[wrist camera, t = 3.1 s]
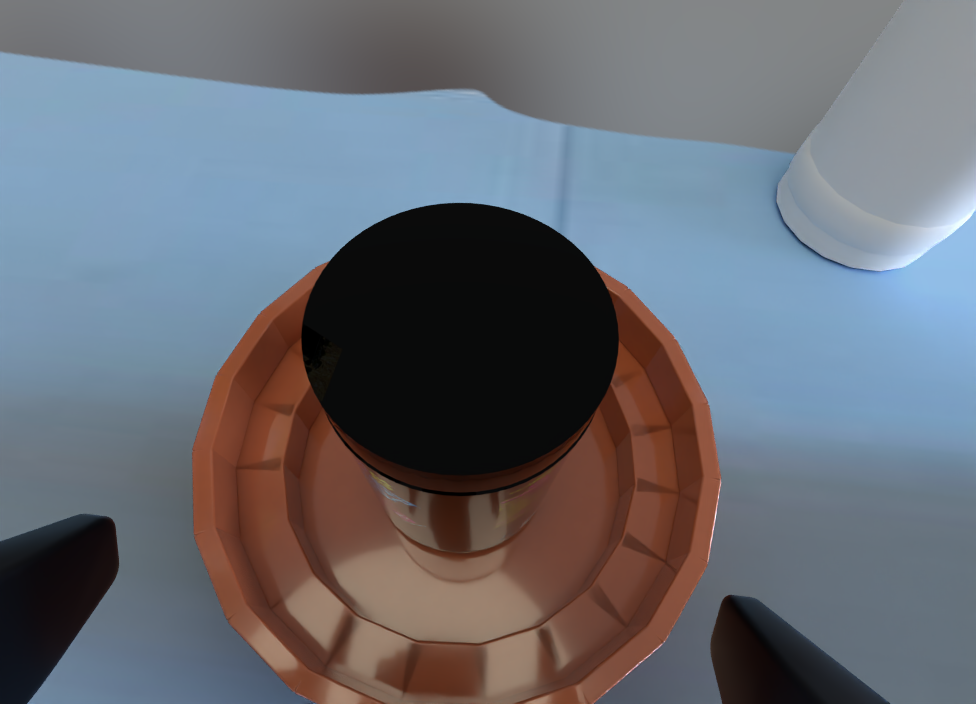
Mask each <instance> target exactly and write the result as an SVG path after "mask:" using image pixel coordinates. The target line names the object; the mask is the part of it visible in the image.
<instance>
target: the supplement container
mask: <svg viewBox="0 0 976 704" xmlns="http://www.w3.org/2000/svg"><path fill="white" fill-rule="evenodd" d="M301 344H302V355H303V361H304V366H305V370H306V373H307V377H308V380H309V382H310V384H311V387H312V389H313V391H314V394H315V395H316V397H317V399H318V400H319V402H320V404H321V406H322V407H323V409H324V411H325V413H326V416H327V418H328V420H329V422H330V424H331V426H332V427H333V429H334V431H335V432H336V434H337V436H338V437H339V439H340V440H341V441H342V443H343V444H344V445H345V447H346V448H347V449H348V450H349V451H350V453H351V454H352V456H353V458H354V459H355V461H356V463H357V465H358V466H359V468H360V470H361V472H362V473H363V475H364V477H365V479H366V480H367V482H368V484H369V485H370V487H371V489H372V491H373V492H374V494H375V496H376V498H377V499H378V501H379V503H380V504H381V506H382V508H383V510H384V511H385V513H386V514H387V516H388V517H389V518H390V520H391V521H392V522H393V523H394V524H395V525H396V526H397V527H398V528H399V529H400V530H401V531H402V532H403V533H404V534H406V535H407V536H409V537H410V538H411V539H413V540H415V541H417V542H418V543H420V544H422V545H425V546H427V547H430V548H433V549H436V550H440V551H446V552H455V553H465V552H475V551H480V550H484V549H488V548H491V547H493V546H496V545H498V544H500V543H502V542H504V541H506V540H508V539H509V538H511V537H512V536H514V535H515V534H516V533H518V532H519V531H520V530H521V529H522V528H523V527H524V526H525V525H526V524H527V523H528V522H529V521H530V520H531V519H532V517H533V516H534V515H535V513H536V512H537V510H538V508H539V507H540V505H541V503H542V502H543V500H544V498H545V496H546V495H547V493H548V491H549V489H550V488H551V486H552V484H553V482H554V481H555V479H556V477H557V475H558V474H559V472H560V470H561V468H562V467H563V465H564V463H565V461H566V460H567V458H568V456H569V454H570V453H571V451H572V450H573V449H574V447H575V446H576V445H577V443H578V442H579V441H580V440H581V438H582V437H583V435H584V434H585V432H586V430H587V428H588V427H589V425H590V423H591V422H592V419H593V417H594V415H595V413H596V411H597V409H598V407H599V405H600V403H601V402H602V400H603V398H604V396H605V395H606V392H607V390H608V388H609V386H610V383H611V381H612V378H613V375H614V371H615V368H616V363H617V357H618V348H619V331H618V322H617V316H616V311H615V308H614V305H613V301H612V298H611V296H610V294H609V291H608V289H607V287H606V285H605V283H604V281H603V279H602V278H601V276H600V274H599V273H598V271H597V270H596V268H595V267H594V266H593V264H592V263H591V262H590V261H589V259H588V258H587V257H586V256H585V255H584V254H583V253H582V252H581V251H580V250H579V249H578V248H577V247H576V246H575V245H574V244H573V243H572V242H570V241H569V240H568V239H567V238H565V237H564V236H563V235H561V234H560V233H558V232H557V231H555V230H554V229H552V228H551V227H549V226H547V225H545V224H543V223H542V222H540V221H538V220H535V219H533V218H531V217H529V216H526V215H524V214H521V213H518V212H515V211H512V210H508V209H504V208H500V207H495V206H490V205H483V204H473V203H447V204H437V205H429V206H424V207H419V208H415V209H411V210H408V211H405V212H401V213H399V214H396V215H393V216H391V217H388V218H386V219H384V220H382V221H380V222H378V223H376V224H374V225H372V226H371V227H369V228H367V229H366V230H364V231H362V232H361V233H360V234H358V235H357V236H356V237H354V238H353V239H351V240H350V241H349V242H348V243H347V244H346V245H345V246H344V247H342V248H341V249H340V250H339V251H338V252H337V254H336V255H335V256H334V257H333V258H332V259H331V260H330V261H329V263H328V264H327V265H326V267H325V268H324V269H323V271H322V272H321V274H320V276H319V277H318V279H317V281H316V282H315V285H314V287H313V289H312V291H311V293H310V295H309V298H308V301H307V304H306V307H305V312H304V317H303V322H302V333H301Z"/></svg>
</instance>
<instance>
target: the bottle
mask: <svg viewBox="0 0 976 704" xmlns="http://www.w3.org/2000/svg"><path fill="white" fill-rule="evenodd" d="M776 202H777V204H778V207H779V209H780V212H781V214H782V217H783V219H784V222H785V223H786V224H787V225H788V227H789V228H790V229H791V230H792V231H793V232H794V234H795V235H796V236H797V237H798V238H799V239H800V241H801V242H803V243H804V244H806V245H807V246H809V247H810V248H811V249H813V250H814V251H816V252H817V253H819V254H820V255H821V256H823V257H825V258H828V259H830V260H833V261H835V262H838V263H840V264H843V265H845V266H848V267H851V268H858V269H866V270H873V271H885V270H892V269H898V268H904V267H905V266H907V265H908V264H910V263H912V262H913V261H915V260H916V259H918V258H919V257H921V256H922V255H923V254H924V253H926V252H927V251H928V250H929V249H930V248H931V247H933V246H935V245H936V244H938V243H939V242H941V241H942V240H944V239H945V238H946V237H948V236H949V235H950V234H952V233H953V232H954V231H955V230H957V229H958V228H959V227H960V226H961V225H962V224H964V223H965V222H966V221H967V220H968V219H969V218H970V217H971V215H972V213H973V212H974V211H975V210H976V0H904V1H903V3H902V4H901V5H900V7H899V8H898V10H897V12H896V13H895V14H894V16H893V17H892V19H891V20H890V21H889V23H888V25H887V26H886V27H885V29H884V30H883V32H882V33H881V35H880V36H879V38H878V39H877V40H876V42H875V44H874V45H873V46H872V48H871V49H870V51H869V52H868V54H867V55H866V57H865V58H864V59H863V61H862V62H861V64H860V65H859V67H858V68H857V69H856V71H855V72H854V74H853V75H852V77H851V78H850V80H849V81H848V83H847V84H846V85H845V87H844V88H843V90H842V91H841V93H840V94H839V96H838V97H837V99H836V100H835V102H834V103H833V104H832V106H831V107H830V109H829V110H828V112H827V113H826V115H825V116H824V118H823V119H822V121H821V122H820V123H818V124H817V125H816V127H815V128H814V129H813V131H812V132H811V133H810V135H809V136H808V138H807V139H806V140H805V142H804V143H803V145H802V146H801V147H800V149H799V150H798V151H797V153H796V154H795V156H794V158H793V159H792V161H791V163H790V166H789V168H788V170H787V171H786V173H785V174H784V176H783V177H782V179H781V180H780V182H779V183H778V189H777V201H776Z"/></svg>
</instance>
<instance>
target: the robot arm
mask: <svg viewBox="0 0 976 704" xmlns="http://www.w3.org/2000/svg"><path fill="white" fill-rule="evenodd" d="M118 568H119V556H118V546H117V537H116V527H115V523H114V522H113V520H112V519H111V518H109V517H107V516H99V515H91V514H79V515H76V516H73V517H70V518H67V519H64V520H61V521H58V522H56V523H53V524H50V525H47V526H44V527H41V528H38V529H35V530H32V531H29V532H27V533H24V534H21V535H18V536H15V537H12V538H9V539H6V540H3V541H0V704H27V703H28V702H29V701H30V699H31V698H32V697H33V696H34V694H35V693H36V692H37V690H38V689H39V688H40V687H41V685H42V684H43V683H44V681H45V680H46V678H47V677H48V676H49V674H50V673H51V672H52V670H53V669H54V668H55V666H56V665H57V663H58V662H59V660H60V659H61V657H62V656H63V655H64V653H65V652H66V650H67V649H68V647H69V646H70V644H71V643H72V641H73V640H74V639H75V637H76V636H77V634H78V633H79V631H80V630H81V628H82V627H83V625H84V624H85V623H86V621H87V620H88V618H89V617H90V615H91V614H92V612H93V611H94V609H95V608H96V607H97V605H98V604H99V602H100V601H101V599H102V598H103V596H104V595H105V593H106V592H107V591H108V589H109V588H110V586H111V585H112V583H113V581H114V580H115V578H116V575H117V572H118ZM710 650H711V658H712V662H713V666H714V671H715V675H716V679H717V683H718V687H719V691H720V696H721V700H722V704H890V703H889V702H888V701H886V700H885V699H884V698H882V697H881V696H880V695H879V694H877V693H876V692H875V691H874V690H872V689H871V688H870V687H868V686H867V685H866V684H865V683H863V682H862V681H861V680H860V679H858V678H857V677H856V676H854V675H853V674H852V673H851V672H849V671H848V670H847V669H846V668H844V667H843V666H842V665H840V664H839V663H838V662H837V661H835V660H834V659H833V658H831V657H830V656H829V655H828V654H826V653H825V652H824V651H823V650H821V649H820V648H819V647H817V646H816V645H815V644H814V643H812V642H811V641H810V640H809V639H807V638H806V637H805V636H803V635H802V634H801V633H800V632H798V631H797V630H796V629H795V628H793V627H792V626H791V625H789V624H788V623H787V622H786V621H784V620H783V619H782V618H780V617H779V616H778V615H777V614H775V613H774V612H773V611H772V610H770V609H769V608H768V607H766V606H765V605H764V604H763V603H761V602H760V601H759V600H757V599H755V598H752V597H745V596H737V595H728V596H726V597H725V598H724V599H723V601H722V603H721V606H720V610H719V613H718V617H717V620H716V624H715V627H714V631H713V634H712V638H711V645H710Z"/></svg>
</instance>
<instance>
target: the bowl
mask: <svg viewBox="0 0 976 704" xmlns="http://www.w3.org/2000/svg"><path fill="white" fill-rule="evenodd" d="M328 263H329V262H326V263H324V264H322V265H320V266H318V267H316V268H315V269H313V270H312V271H311V272H309V273H308V274H307V275H306V276H304V277H303V278H302V279H301V280H299V281H298V282H297V283H296V284H295V285H293V286H292V287H291V288H290V289H288V290H287V291H286V292H285V293H284V294H282V295H281V296H280V297H279V298H277V299H276V300H275V301H274V302H272V303H271V304H270V305H269V306H268V307H266V308H265V309H264V310H263V311H261V313H260V314H259V315H258V316H257V317H256V319H255V320H254V322H253V323H252V324H251V326H250V327H249V329H248V330H247V332H246V333H245V335H244V336H243V337H242V339H241V340H240V342H239V343H238V345H237V346H236V347H235V349H234V350H233V352H232V353H231V355H230V356H229V357H228V359H227V360H226V362H225V363H224V365H223V366H222V367H221V369H220V370H219V372H218V373H217V375H216V377H215V380H214V383H213V386H212V389H211V392H210V395H209V398H208V402H207V405H206V408H205V411H204V414H203V417H202V420H201V423H200V427H199V430H198V433H197V436H196V439H195V442H194V445H193V448H192V451H193V452H192V470H193V522H194V535H195V536H194V539H195V541H196V544H197V546H198V549H199V551H200V554H201V556H202V559H203V561H204V564H205V567H206V569H207V572H208V574H209V577H210V579H211V582H212V584H213V587H214V589H215V592H216V595H217V597H218V600H219V602H220V605H221V607H222V610H223V612H224V615H225V617H226V619H227V620H228V623H229V624H230V625H231V626H232V627H233V629H234V630H235V631H236V632H237V633H238V634H239V635H240V636H241V637H242V638H243V639H244V640H245V641H246V642H247V644H248V645H249V646H250V647H251V648H252V649H253V650H254V651H255V652H256V653H257V654H258V655H259V656H260V657H261V659H262V660H263V661H264V662H265V663H266V664H267V665H268V666H269V667H270V668H271V669H272V670H273V671H274V672H275V674H276V675H277V676H278V677H279V678H280V679H281V680H282V681H283V682H284V683H285V684H286V685H287V686H288V687H289V689H290V690H291V691H292V692H295V694H297V695H299V696H301V697H303V698H305V699H308V700H310V701H312V702H314V703H316V704H594V703H595V702H596V701H597V700H599V699H600V698H601V697H602V696H603V695H605V694H606V693H607V692H608V691H609V690H610V689H612V688H613V687H614V686H615V685H616V684H617V683H619V682H620V681H621V680H622V679H623V678H625V677H626V676H627V675H628V674H629V673H630V672H632V671H633V670H634V669H635V668H636V667H637V666H639V665H640V664H641V663H642V662H643V661H644V660H646V659H647V658H648V657H649V656H650V655H652V654H653V653H654V652H655V651H656V650H657V649H659V648H660V647H661V646H662V644H663V643H664V642H665V641H666V640H667V638H668V636H669V634H670V632H671V631H672V629H673V627H674V625H675V623H676V622H677V620H678V618H679V616H680V614H681V613H682V611H683V609H684V607H685V605H686V603H687V602H688V600H689V598H690V596H691V594H692V593H693V591H694V589H695V587H696V585H697V584H698V582H699V580H700V578H701V576H702V575H703V573H704V571H705V569H706V567H707V565H708V564H707V563H708V561H709V555H710V549H711V543H712V537H713V531H714V524H715V518H716V512H717V506H718V500H719V494H720V488H721V474H720V468H719V462H718V456H717V450H716V444H715V438H714V432H713V426H712V420H711V414H710V408H709V405H708V401H707V399H706V397H705V395H704V393H703V391H702V389H701V387H700V385H699V383H698V381H697V379H696V377H695V375H694V373H693V371H692V369H691V367H690V365H689V363H688V361H687V359H686V357H685V355H684V353H683V351H682V349H681V347H680V345H679V343H678V341H677V340H676V339H675V337H674V336H673V335H672V334H671V333H670V332H669V330H668V329H667V328H666V327H665V326H664V325H663V324H662V323H661V322H660V321H659V320H658V319H657V318H656V316H655V315H654V314H653V313H652V312H651V311H650V310H649V309H648V308H647V307H646V306H645V305H644V304H643V302H642V301H641V300H640V299H639V298H638V297H637V296H636V295H635V294H634V293H633V292H632V291H631V290H630V289H628V287H627V286H625V285H624V284H622V283H620V282H619V281H617V280H616V279H614V278H612V277H611V276H609V275H608V274H606V273H604V272H603V271H601V270H600V269H598V268H596V267H595V266H594V267H595V268H596V270H597V271H598V273H599V274H600V276H601V278H602V279H603V281H604V283H605V285H606V287H607V289H608V291H609V294H610V296H611V298H612V301H613V305H614V308H615V311H616V316H617V322H618V331H619V348H618V357H617V363H616V368H615V371H614V375H613V378H612V381H611V383H610V386H609V388H608V390H607V392H606V395H605V396H604V398H603V400H602V402H601V403H600V405H599V407H598V409H597V411H596V413H595V415H594V417H593V419H592V422H591V423H590V425H589V427H588V428H587V430H586V432H585V434H584V435H583V437H582V438H581V440H580V441H579V442H578V443H577V445H576V446H575V447H574V449H573V450H572V451H571V453H570V454H569V456H568V458H567V460H566V461H565V463H564V465H563V467H562V468H561V470H560V472H559V474H558V475H557V477H556V479H555V481H554V482H553V484H552V486H551V488H550V489H549V491H548V493H547V495H546V496H545V498H544V500H543V502H542V503H541V505H540V507H539V508H538V510H537V512H536V513H535V515H534V516H533V517H532V519H531V520H530V521H529V522H528V523H527V524H526V525H525V526H524V527H523V528H522V529H521V530H520V531H519V532H518V533H516V534H515V535H514V536H512V537H511V538H509V539H508V540H506V541H504V542H502V543H500V544H498V545H496V546H493V547H491V548H488V549H484V550H480V551H475V552H465V553H455V552H446V551H440V550H436V549H433V548H430V547H427V546H425V545H422V544H420V543H418V542H417V541H415V540H413V539H411V538H410V537H409V536H407V535H406V534H404V533H403V532H402V531H401V530H400V529H399V528H398V527H397V526H396V525H395V524H394V523H393V522H392V521H391V520H390V518H389V517H388V516H387V514H386V513H385V511H384V510H383V508H382V506H381V504H380V503H379V501H378V499H377V498H376V496H375V494H374V492H373V491H372V489H371V487H370V485H369V484H368V482H367V480H366V479H365V477H364V475H363V473H362V472H361V470H360V468H359V466H358V465H357V463H356V461H355V459H354V458H353V456H352V454H351V453H350V451H349V450H348V449H347V448H346V447H345V445H344V444H343V443H342V441H341V440H340V439H339V437H338V436H337V434H336V432H335V431H334V429H333V427H332V426H331V424H330V422H329V420H328V418H327V416H326V413H325V411H324V409H323V407H322V406H321V404H320V402H319V400H318V399H317V397H316V395H315V394H314V391H313V389H312V387H311V384H310V382H309V380H308V377H307V373H306V370H305V366H304V361H303V355H302V344H301V333H302V322H303V317H304V312H305V307H306V304H307V301H308V298H309V295H310V293H311V291H312V289H313V287H314V285H315V282H316V281H317V279H318V277H319V276H320V274H321V272H322V271H323V269H324V268H325V267H326V265H327V264H328Z"/></svg>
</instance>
